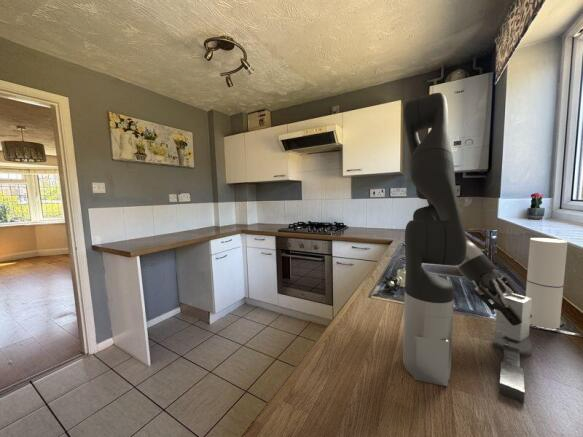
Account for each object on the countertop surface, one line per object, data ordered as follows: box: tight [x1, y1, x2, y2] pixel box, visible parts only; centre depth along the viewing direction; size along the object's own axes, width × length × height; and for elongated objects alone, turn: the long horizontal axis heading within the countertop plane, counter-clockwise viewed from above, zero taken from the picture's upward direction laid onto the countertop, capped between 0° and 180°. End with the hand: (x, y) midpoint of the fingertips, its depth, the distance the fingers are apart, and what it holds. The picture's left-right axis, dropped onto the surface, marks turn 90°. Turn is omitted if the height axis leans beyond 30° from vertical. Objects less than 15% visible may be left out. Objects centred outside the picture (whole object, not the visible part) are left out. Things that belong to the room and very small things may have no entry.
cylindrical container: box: [525, 237, 568, 329], centre depth 68 cm, size 7×7×25 cm
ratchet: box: [492, 330, 533, 404], centre depth 53 cm, size 24×7×6 cm, turn 137°
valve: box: [382, 269, 406, 293], centre depth 97 cm, size 7×7×12 cm
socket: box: [494, 291, 532, 341], centre depth 58 cm, size 5×5×10 cm
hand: (522, 320), depth 57 cm, fingers closed on socket, 4 cm apart
